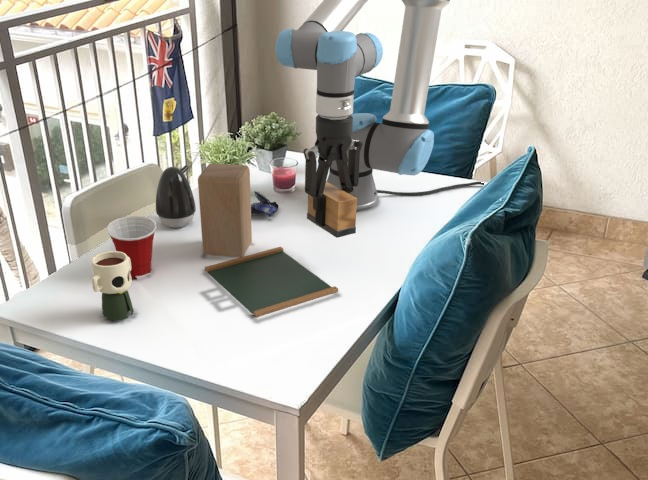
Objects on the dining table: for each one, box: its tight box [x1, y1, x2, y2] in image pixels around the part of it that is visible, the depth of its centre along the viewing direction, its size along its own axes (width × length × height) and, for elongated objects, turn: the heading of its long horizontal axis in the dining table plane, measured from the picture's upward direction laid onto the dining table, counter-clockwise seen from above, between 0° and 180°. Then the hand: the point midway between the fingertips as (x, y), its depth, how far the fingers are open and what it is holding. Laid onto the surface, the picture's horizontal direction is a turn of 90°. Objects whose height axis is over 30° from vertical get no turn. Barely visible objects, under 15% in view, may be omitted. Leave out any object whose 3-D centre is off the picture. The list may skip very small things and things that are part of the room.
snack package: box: [251, 191, 280, 220], centre depth 186 cm, size 12×6×12 cm
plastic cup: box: [106, 215, 158, 280], centre depth 155 cm, size 11×11×12 cm
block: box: [197, 162, 253, 258], centre depth 163 cm, size 10×10×20 cm
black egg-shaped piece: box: [155, 164, 197, 229], centre depth 178 cm, size 10×10×15 cm
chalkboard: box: [204, 246, 339, 318], centre depth 153 cm, size 20×24×2 cm
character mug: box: [91, 250, 135, 322], centre depth 140 cm, size 11×7×13 cm, turn 150°
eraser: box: [306, 181, 357, 239], centre depth 153 cm, size 5×12×8 cm, turn 30°
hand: (330, 220), depth 154 cm, fingers closed on eraser, 5 cm apart
